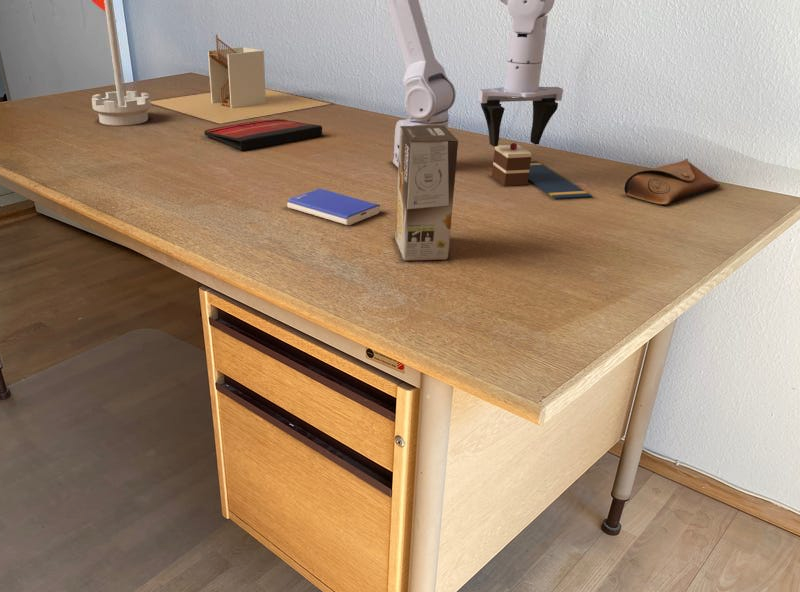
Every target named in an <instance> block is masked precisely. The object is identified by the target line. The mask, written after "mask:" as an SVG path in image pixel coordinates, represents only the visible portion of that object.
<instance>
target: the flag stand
mask: <svg viewBox="0 0 800 592" xmlns="http://www.w3.org/2000/svg"><path fill="white" fill-rule="evenodd" d="M91 2H92V3H93V4H95V5H96V6H97V7H98V8H100V9H101V10H102V11H104V12H105V14H106V15H105V17H106V23H107V24H106V25H107V31H108V38H109V46H110V53H111V60H112V69H113V76H114V84H115V90H116V91H115V90H114V91H106V92H105V93H104V94H105V97H102V94H100V93H96V94H94V95H92V97H91V104H92V105H91V106H92V110H94V111H95V112H96V113H97V114H98V121H99V123H100V124H103V125H106V126H133V125H138V124H143V123H145V122H147V121H149V115H148V110H149V109H150V108H151V106H152V104H151V102H150V101H151V98H150V94H149V93H147V92H141V93H140V95H141V96H139V95H138V91H137V90H135V91H134V90H126V91H125V94H126V95H125V94H124V86H123V79H122V71H121V70H122V69H121V63H120V56H119V55H120V54H119V48H118V40H117V32H116V25H115V18H114V17H115V16H114V10H113V1H112V0H91Z"/></svg>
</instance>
